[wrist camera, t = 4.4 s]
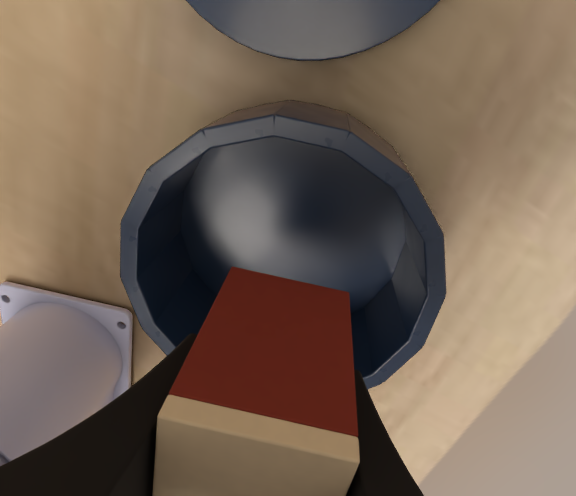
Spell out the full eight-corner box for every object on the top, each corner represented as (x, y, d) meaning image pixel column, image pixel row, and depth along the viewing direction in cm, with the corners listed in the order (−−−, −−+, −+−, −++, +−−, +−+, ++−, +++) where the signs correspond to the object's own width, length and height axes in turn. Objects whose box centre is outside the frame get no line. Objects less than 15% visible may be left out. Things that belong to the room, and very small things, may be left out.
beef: (318, 391, 15) (309, 585, 10) (216, 369, 15) (147, 547, 10) (349, 291, 13) (361, 462, 8) (231, 265, 13) (156, 416, 8)
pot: (375, 351, 23) (386, 432, 18) (165, 303, 23) (118, 370, 18) (457, 135, 17) (505, 165, 12) (181, 74, 18) (121, 80, 13)
